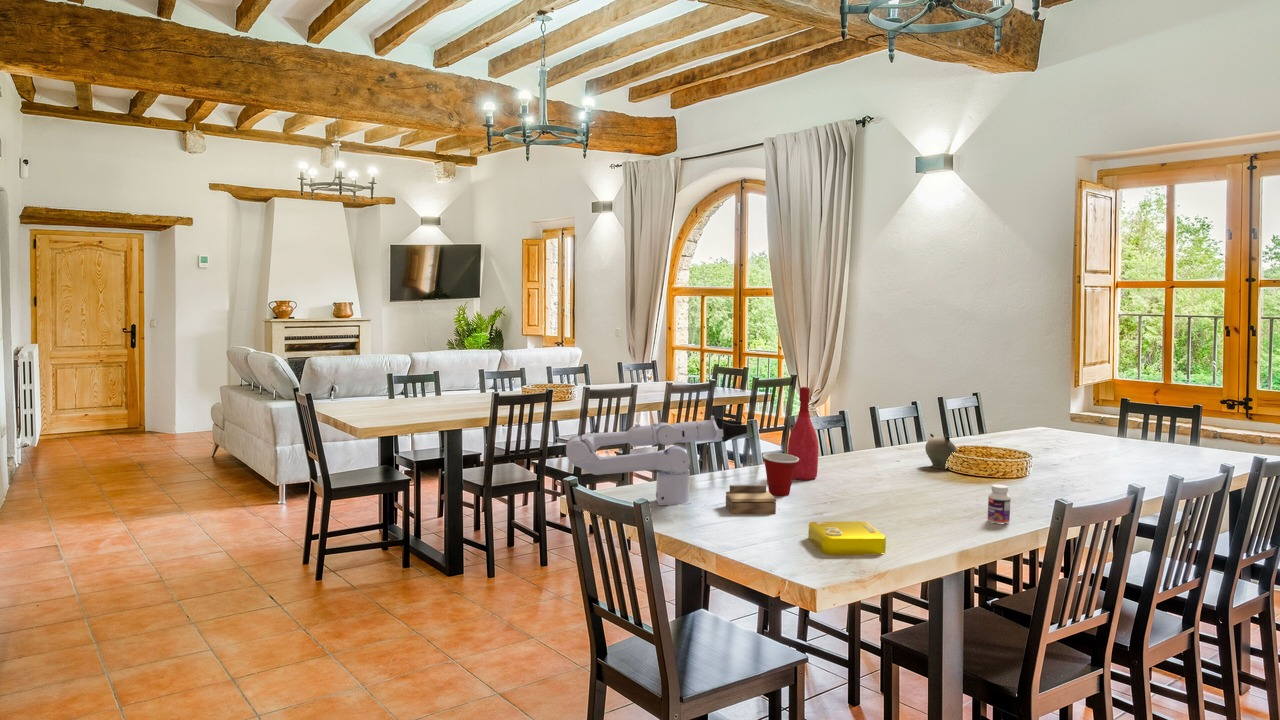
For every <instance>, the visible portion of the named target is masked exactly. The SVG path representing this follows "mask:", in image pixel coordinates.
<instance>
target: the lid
mask: <svg viewBox="0 0 1280 720" xmlns="http://www.w3.org/2000/svg"><path fill="white" fill-rule="evenodd" d="M726 495H727V496H728V498H729V499H730V500H731V501H732V502H777V498H776V497H775V496H773V495H772V494H771V493H770V492H769V490H768V491H767V485H765V484H751V485H748V484H744V485H743V484H742V485H741V484H731V485H729V491H725V496H726Z"/></svg>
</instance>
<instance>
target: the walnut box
mask: <svg viewBox="0 0 1280 720" xmlns="http://www.w3.org/2000/svg"><path fill="white" fill-rule="evenodd" d="M776 502H777V501H776ZM776 502H732V501H731V500H730V499H729V498H728V496H727V495H726V494H725V507H726V509H727V510H728V511H729V513H730V514H731V515H776V514H777V512H776V511H777V510H776V509H777V503H776Z"/></svg>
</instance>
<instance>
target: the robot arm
mask: <svg viewBox="0 0 1280 720" xmlns="http://www.w3.org/2000/svg"><path fill="white" fill-rule="evenodd" d="M747 427H748V426H747V425H746V424H742V421H740V420H728V419H724V418H721V417H718V416H714V415H711V416H710V419H706V420H695V421H682V422H679V423H677V422H675V423H670V424H669V423H668V422H662V421H660V422H658V423H657V422H653V424H649V425H648V424H646V425H641V423H636V424H635V426H630V428H629V429H628V430H627V431H615V432H614V431H612V432H610V431H609V432H593V433H584V434H582V435H573V436H571V437H570V438H569V439H568V440H567V442H566V445H565V454H566V457H567V459H568V461H570V462H571V464H572V465H573V466H574V467H577V468H580V469H582V470H584V471H586V472H587V473H590V474H591V475H595V476H600V475H610V474H624V473H632V472H644V471H645V472H646V471H655V470H657V472H656V489H655V490H656V491H655V500H656V502H657V504H658V506H669V505H692V504H693V502H692V501H691V499H690V475H691V474H690V465H691V458H690V456H689V455H688V453H687V452H686V451H685V449H684V448H683V447H681V446H679V445H673V444H675V443H693V442H694V443H695V442H704V441H717V439H718V438H721V441H722V442H723V443H726V442H728V441H729V440H731V439H733V438H735V437H738V436H742V435H745V434H748V428H747ZM622 444H629V445H630V446H632V447H633V448H634V447H645V446H646V447H647V446H655V445H657V444H661V445H663V446H666V447H668V448H667V449H661V450H657V451H654V452H644V453H643V452H642V453H633V454H631V453H629V454H622V455H621V454H619V455H608V456H600V455H599V454H598V453H596V451H597V450H598V449H599V448H601V447H606V446H611V445H613V446H614V445H622ZM671 445H672V446H671ZM669 446H670V447H669Z"/></svg>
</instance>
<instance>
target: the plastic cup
mask: <svg viewBox="0 0 1280 720" xmlns="http://www.w3.org/2000/svg"><path fill="white" fill-rule="evenodd" d="M762 458H763V462H764V466H765V475H766V482H767V488H768V491H769V492H770V493H771V494H772V495H773V496H774V497H775V496H776V497H787V496H789V495H790V493H791V487H792V485H793V484H792V483H793V475H794V470H795V467H796V464H797V462H798V461H799V458H797V457H795V456H792V455H788V453H781V452H768V453H764V454H762Z"/></svg>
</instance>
